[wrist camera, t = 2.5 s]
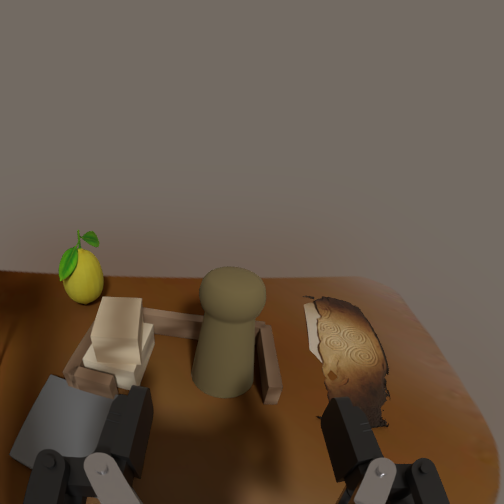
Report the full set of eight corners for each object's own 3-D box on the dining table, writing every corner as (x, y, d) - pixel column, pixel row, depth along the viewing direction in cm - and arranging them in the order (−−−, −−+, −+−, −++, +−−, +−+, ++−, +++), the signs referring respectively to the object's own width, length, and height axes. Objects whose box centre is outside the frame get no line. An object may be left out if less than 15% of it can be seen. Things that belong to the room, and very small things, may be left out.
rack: (70, 390, 18) (62, 371, 17) (110, 318, 29) (107, 301, 28) (279, 422, 20) (286, 406, 19) (266, 339, 31) (270, 322, 30)
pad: (12, 458, 9) (9, 454, 9) (52, 378, 18) (50, 374, 18) (127, 507, 10) (125, 505, 10) (149, 405, 19) (148, 401, 19)
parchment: (302, 295, 43) (303, 290, 42) (359, 302, 42) (361, 298, 42) (312, 432, 20) (315, 427, 19) (405, 428, 19) (410, 423, 19)
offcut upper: (97, 362, 19) (90, 336, 18) (106, 321, 24) (102, 296, 23) (141, 364, 20) (137, 338, 19) (143, 322, 26) (141, 298, 25)
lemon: (103, 287, 35) (98, 219, 31) (116, 308, 31) (110, 232, 27) (60, 297, 30) (50, 226, 26) (68, 321, 26) (54, 241, 23)
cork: (213, 346, 28) (223, 252, 24) (263, 370, 26) (286, 273, 22) (178, 377, 23) (178, 274, 19) (233, 408, 21) (252, 305, 17)
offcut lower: (89, 381, 20) (82, 359, 19) (113, 337, 26) (109, 315, 25) (137, 394, 20) (133, 372, 19) (154, 346, 27) (153, 324, 26)
